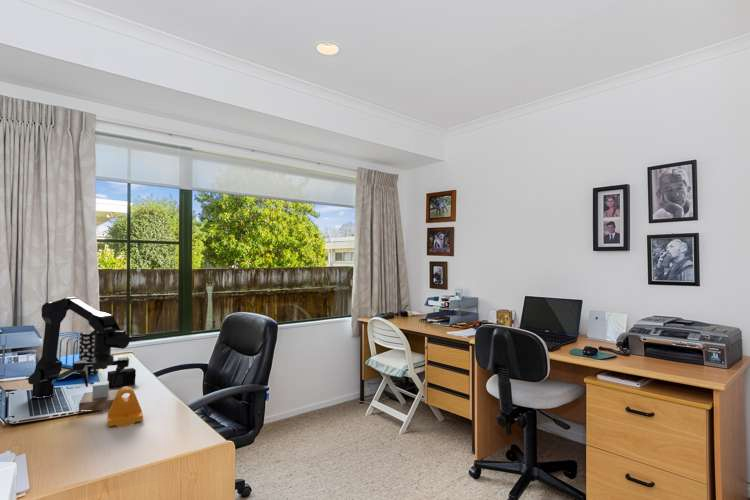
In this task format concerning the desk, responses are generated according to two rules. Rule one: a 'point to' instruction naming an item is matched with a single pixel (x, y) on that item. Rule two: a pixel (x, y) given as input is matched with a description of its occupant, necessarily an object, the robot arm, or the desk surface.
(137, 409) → the bracket
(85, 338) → the spotted tube
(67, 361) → the file sorter
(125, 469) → the desk surface
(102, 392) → the slate cube
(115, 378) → the robot arm
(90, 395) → the walnut block
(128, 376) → the digital camera
